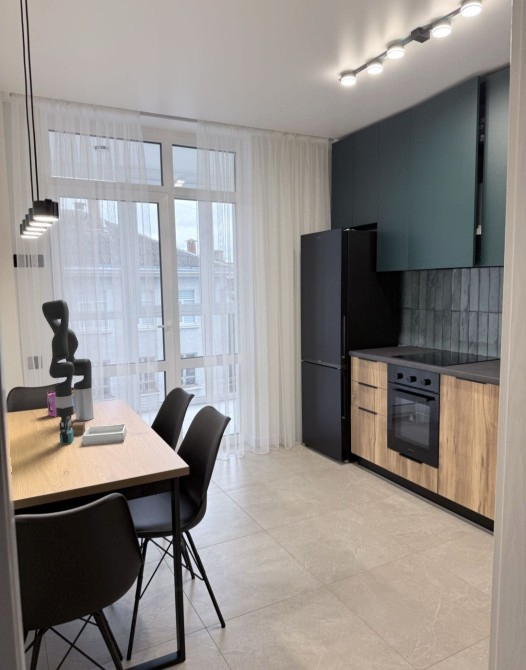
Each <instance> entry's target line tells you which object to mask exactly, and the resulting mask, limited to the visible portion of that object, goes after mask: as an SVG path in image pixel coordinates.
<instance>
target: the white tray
mask: <svg viewBox="0 0 526 670" xmlns="http://www.w3.org/2000/svg"><path fill="white" fill-rule="evenodd" d="M127 428H128V427H127V423H119V424H108V425H107V424H106V425H92V426H87V428H85V432H84V434H83V435H82V436H81V439H82V440H81V441H82V445H83V446H87V445H88V446H89V445H97V444H98V445H99V444H108V443H118V442H124V441H125V439H126V435H127V432H128V430H127Z"/></svg>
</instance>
